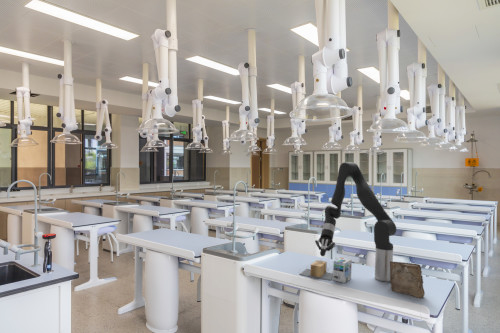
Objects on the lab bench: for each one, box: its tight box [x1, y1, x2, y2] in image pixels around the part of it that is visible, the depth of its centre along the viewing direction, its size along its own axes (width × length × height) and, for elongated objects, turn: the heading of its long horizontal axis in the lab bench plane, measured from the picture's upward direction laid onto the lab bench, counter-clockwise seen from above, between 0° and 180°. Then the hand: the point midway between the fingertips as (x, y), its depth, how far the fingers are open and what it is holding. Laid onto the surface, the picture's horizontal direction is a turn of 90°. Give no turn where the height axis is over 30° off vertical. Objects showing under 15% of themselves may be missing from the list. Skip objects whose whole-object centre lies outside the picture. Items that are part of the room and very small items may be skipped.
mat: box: [299, 268, 333, 281], centre depth 189 cm, size 18×13×1 cm
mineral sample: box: [389, 261, 426, 299], centre depth 163 cm, size 17×4×15 cm, turn 47°
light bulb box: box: [332, 257, 353, 284], centre depth 182 cm, size 11×7×11 cm, turn 143°
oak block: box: [310, 259, 328, 277], centre depth 190 cm, size 6×6×12 cm
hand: (322, 255), depth 196 cm, fingers closed
